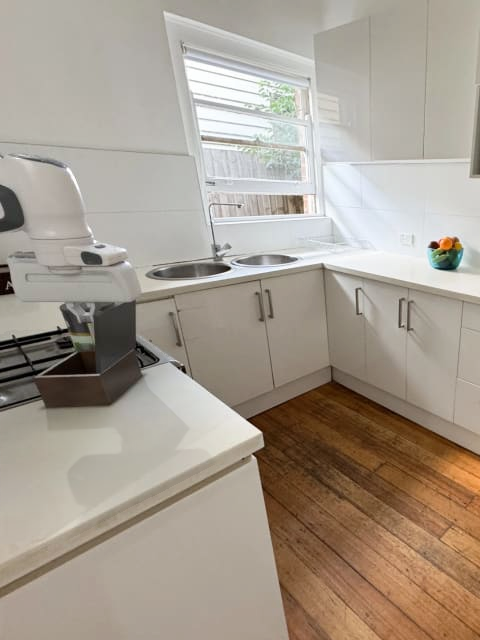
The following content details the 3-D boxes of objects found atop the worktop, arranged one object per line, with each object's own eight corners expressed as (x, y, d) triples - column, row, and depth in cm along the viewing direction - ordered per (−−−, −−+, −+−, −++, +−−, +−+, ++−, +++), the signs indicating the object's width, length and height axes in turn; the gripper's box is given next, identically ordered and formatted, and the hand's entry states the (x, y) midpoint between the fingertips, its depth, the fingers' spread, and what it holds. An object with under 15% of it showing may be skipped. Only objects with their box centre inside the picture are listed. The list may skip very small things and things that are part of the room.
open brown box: (45, 407, 75) (32, 377, 72) (87, 377, 87) (77, 350, 84) (109, 405, 77) (99, 375, 74) (142, 375, 88) (134, 348, 85)
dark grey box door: (93, 315, 69) (98, 316, 69) (131, 295, 81) (135, 296, 81) (96, 373, 74) (100, 374, 74) (132, 346, 85) (136, 347, 85)
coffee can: (73, 368, 90) (52, 312, 84) (84, 351, 98) (66, 299, 93) (126, 360, 94) (109, 306, 89) (132, 345, 103) (117, 294, 97)
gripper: (-12, 254, 66) (18, 328, 71) (116, 256, 69) (136, 327, 74) (18, 248, 72) (43, 317, 77) (135, 250, 74) (152, 316, 80)
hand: (89, 322), depth 76 cm, fingers closed
